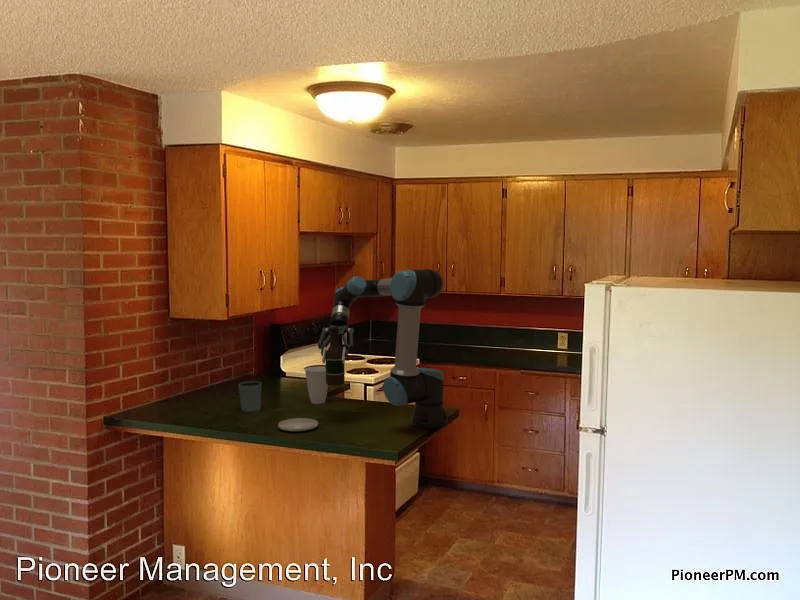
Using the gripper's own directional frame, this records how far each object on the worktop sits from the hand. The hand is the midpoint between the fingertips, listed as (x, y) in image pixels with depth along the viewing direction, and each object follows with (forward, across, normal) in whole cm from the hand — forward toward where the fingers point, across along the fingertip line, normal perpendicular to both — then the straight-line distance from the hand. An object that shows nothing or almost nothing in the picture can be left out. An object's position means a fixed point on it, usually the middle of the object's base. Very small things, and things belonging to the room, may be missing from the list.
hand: (333, 361), depth 284 cm
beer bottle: (+5, 0, -10) cm, 11 cm away
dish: (+24, +13, -13) cm, 30 cm away
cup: (-8, +15, -45) cm, 48 cm away
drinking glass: (+4, +42, -33) cm, 54 cm away
